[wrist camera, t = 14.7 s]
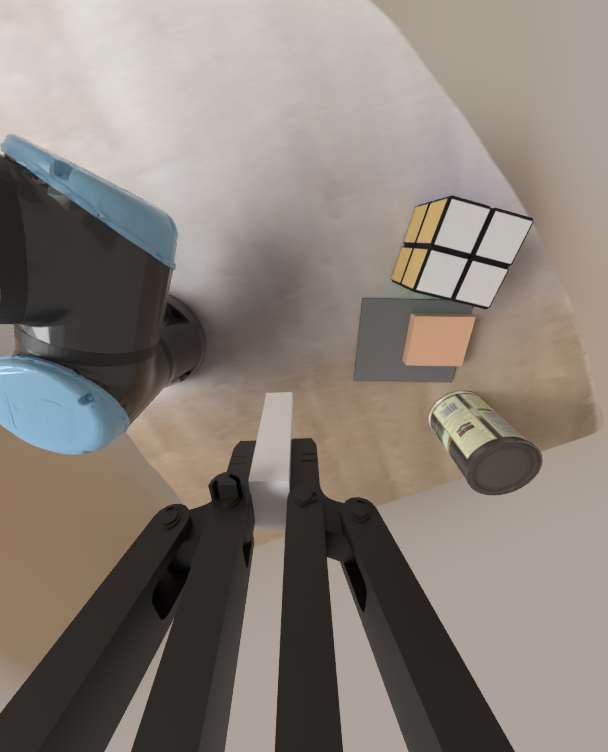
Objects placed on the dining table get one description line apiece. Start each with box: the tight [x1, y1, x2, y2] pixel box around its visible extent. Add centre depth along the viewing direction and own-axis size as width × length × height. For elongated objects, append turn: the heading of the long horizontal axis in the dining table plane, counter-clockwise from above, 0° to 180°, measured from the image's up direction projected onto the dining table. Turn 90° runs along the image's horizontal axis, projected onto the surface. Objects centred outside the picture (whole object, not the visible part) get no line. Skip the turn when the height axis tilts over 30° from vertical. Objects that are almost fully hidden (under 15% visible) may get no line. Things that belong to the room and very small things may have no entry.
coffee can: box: [429, 391, 542, 495], centre depth 46 cm, size 10×10×14 cm
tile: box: [402, 313, 476, 366], centre depth 45 cm, size 2×8×9 cm
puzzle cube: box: [391, 196, 533, 309], centre depth 36 cm, size 10×10×10 cm
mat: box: [354, 298, 473, 382], centre depth 46 cm, size 17×14×1 cm
